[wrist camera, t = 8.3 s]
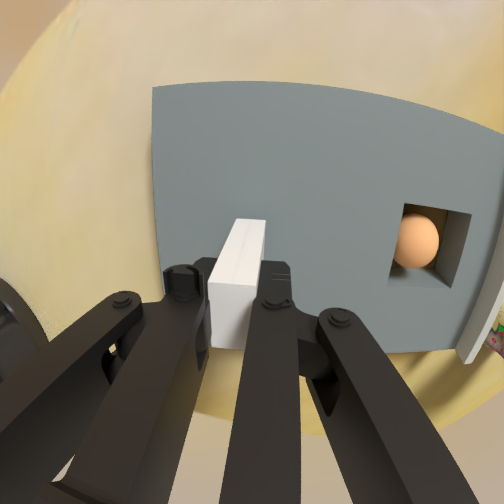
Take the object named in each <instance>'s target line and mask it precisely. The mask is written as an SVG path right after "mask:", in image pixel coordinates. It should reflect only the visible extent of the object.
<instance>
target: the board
mask: <svg viewBox="0 0 504 504" xmlns="http://www.w3.org/2000/svg"><path fill="white" fill-rule="evenodd" d="M152 168H153V190H154V206H155V220H156V231H157V242H158V252H159V261H160V269H161V277H162V285H163V292H164V296H165V288H164V280H163V271H164V270H165V269H166V268H169V267H171V266H174V265H179V264H190V265H193V264H194V262H195V261H197V260H198V259H200V258H202V257H212V258H219V256H220V253H221V251H222V249H223V247H224V245H225V242H226V240H227V238H228V236H229V234H230V232H231V229H232V227H233V225H234V223H235V221H236V219H255V220H266V224H265V243H264V260H269V261H285V262H286V263H287V264H288V266H289V267H290V272H291V287H292V300H293V301H294V303H295V307H296V308H298V309H299V310H300V311H302V312H304V313H307V314H310V315H313V316H317V317H318V316H319V314H320V312H322V311H323V310H325V309H328V308H332V307H335V308H344V309H348V310H350V311H352V312H354V313H355V314H356V315H357V316H358V317H359V318H360V319H361V321H362V322H363V323H364V325H365V326H366V327H367V329H368V330H369V332H370V333H371V334H372V336H373V337H374V338H375V340H376V341H377V343H378V344H379V345H380V347H381V348H382V350H383V351H384V353H407V352H423V351H436V350H447V349H455V350H456V352H457V354H458V355H459V357H460V359H461V361H462V362H463V364H469V363H472V362H473V360H474V359H475V357H476V355H477V353H478V352H479V350H480V348H481V346H482V344H483V342H484V341H485V339H486V337H487V335H488V333H489V331H490V329H491V327H492V325H493V323H494V321H495V319H496V316H497V314H498V312H499V310H500V308H501V305H502V303H503V301H504V135H503V134H501V133H499V132H496V131H494V130H492V129H489V128H487V127H485V126H482V125H480V124H477V123H475V122H472V121H469V120H467V119H464V118H461V117H458V116H455V115H453V114H450V113H447V112H443V111H440V110H437V109H434V108H431V107H427V106H424V105H420V104H416V103H413V102H409V101H405V100H401V99H397V98H392V97H388V96H383V95H378V94H373V93H368V92H363V91H357V90H351V89H344V88H337V87H330V86H321V85H312V84H301V83H287V82H267V81H221V82H200V83H187V84H176V85H167V86H158V87H153V90H152ZM404 203H408V204H415V205H422V206H428V207H434V208H440V209H446V210H448V215H447V220H446V224H445V229H444V233H443V237H442V241H441V245H440V249H439V253H438V257H437V260H436V264H435V267H434V269H423V268H417V269H410V268H406V267H391V265H392V261H393V257H394V253H395V248H396V244H397V239H398V234H399V229H400V224H401V219H402V213H403V208H404ZM209 345H211V338H210V341H209Z"/></svg>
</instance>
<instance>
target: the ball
mask: <svg viewBox="0 0 504 504" xmlns="http://www.w3.org/2000/svg"><path fill="white" fill-rule="evenodd" d="M438 245H439V237H438V232H437V230H436V227H435V226H434V224H433V223H432V222H431V221H430V220H429V219H428V218H427V217H425V216H423V215H421V214H418V213H408V214H404V215H402V219H401V224H400V229H399V234H398V239H397V244H396V248H395V253H394V257H393V259H394V260H395V261H396V262H397V263H398V264H400V265H401V266H403V267H406V268H410V269H417V268H421V267H423V266H425V265H427V264H428V263H430V262H431V261H432V259H433V258H434V257H435V255H436V253H437V250H438Z"/></svg>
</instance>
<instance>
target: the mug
mask: <svg viewBox="0 0 504 504" xmlns="http://www.w3.org/2000/svg"><path fill="white" fill-rule="evenodd" d="M483 343H484V345H485V346H486V347H488V348H490V349H493V350H495V351H496V352H498V353H499V354H500V355H501V356H502V357H503V358H504V301H503V303H502V305H501V308H500V310H499V312H498V314H497V316H496V319H495V321H494V323H493V325H492V327H491V329H490V331H489V333H488V335H487V337H486V339H485V341H484V342H483Z"/></svg>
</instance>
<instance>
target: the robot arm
mask: <svg viewBox="0 0 504 504" xmlns="http://www.w3.org/2000/svg"><path fill="white" fill-rule="evenodd" d="M265 224H266V220H255V219H236V221H235V223H234V225H233V227H232V229H231V232H230V234H229V236H228V238H227V240H226V242H225V245H224V247H223V249H222V251H221V253H220V256H219V258H212V257H202V258H200V259H198V260H197V261H195V262H194V264H193V265H190V264H179V265H174V266H171V267H169V268H166V269H165V270H164V271H163V280H164V288H165V296H164V297H163V299H162V300H161V301H160V302H151V303H142V301H141V297H140V296H139V294H137V293H135V292H131V291H119V292H117V293H113V294H112V295H110V296H108V297H107V298H105V299H104V300H103V301H101V302H100V303H99V304H97V305H96V306H95V307H93V308H92V309H91V310H90V311H88V312H87V313H86V314H84V315H83V316H82V317H80V318H79V319H78V320H77V321H75V322H74V323H73V324H72V325H70V326H69V327H68V328H66V329H65V330H64V331H63V332H61V333H60V334H59V335H58V336H56V337H55V338H54V339H53V340H51V341H50V342H49V343H48V341H47V338H46V336H45V334H44V332H43V330H42V328H41V326H40V324H39V323H38V321H37V319H36V318H35V316H34V314H33V313H32V311H31V310H30V309H29V307H28V306H27V304H26V303H25V302H24V301H23V299H22V298H21V297H20V296H19V295H18V293H17V292H16V291H15V290H14V289H13V288H12V287H11V286H10V285H9V284H8V283H6V282H5V281H4V280H2V279H1V278H0V504H168V501H169V497H170V493H171V490H172V486H173V482H174V478H175V475H176V471H177V468H178V464H179V460H180V457H181V453H182V449H183V445H184V442H185V438H186V435H187V431H188V428H189V424H190V421H191V417H192V414H193V410H194V407H195V403H196V400H197V396H198V393H199V389H200V386H201V382H202V379H203V375H204V372H205V368H206V365H207V361H208V358H209V349H208V345H209V341H210V338H211V346H212V347H216V348H226V349H236V350H245V353H244V359H243V365H242V371H241V377H240V383H239V389H238V395H237V401H236V407H235V413H234V419H233V425H232V431H231V437H230V443H229V448H228V454H227V460H226V465H225V471H224V477H223V483H222V488H221V494H220V499H219V504H301V422H300V387H299V375H300V376H304V377H305V378H306V383H307V386H308V388H309V391H310V393H311V396H312V398H313V401H314V404H315V406H316V409H317V411H318V414H319V417H320V419H321V422H322V424H323V427H324V429H325V432H326V435H327V437H328V440H329V442H330V445H331V447H332V450H333V453H334V455H335V458H336V460H337V463H338V466H339V468H340V471H341V474H342V476H343V479H344V481H345V484H346V486H347V489H348V492H349V494H350V497H351V500H352V502H353V504H479V502H478V500H477V499H476V497H475V495H474V493H473V491H472V490H471V488H470V486H469V484H468V482H467V480H466V479H465V477H464V475H463V473H462V472H461V470H460V468H459V467H458V465H457V463H456V461H455V460H454V458H453V457H452V455H451V453H450V451H449V450H448V448H447V447H446V445H445V443H444V442H443V440H442V438H441V437H440V435H439V434H438V432H437V430H436V429H435V427H434V426H433V424H432V422H431V421H430V419H429V418H428V416H427V415H426V413H425V412H424V410H423V408H422V407H421V405H420V404H419V402H418V401H417V399H416V398H415V396H414V395H413V393H412V392H411V390H410V389H409V387H408V386H407V384H406V383H405V381H404V380H403V378H402V377H401V376H400V374H399V373H398V371H397V370H396V368H395V367H394V365H393V364H392V363H391V361H390V360H389V358H388V357H387V355H386V354H385V353H384V351H383V350H382V348H381V347H380V345H379V344H378V343H377V341H376V340H375V338H374V337H373V336H372V334H371V333H370V332H369V330H368V329H367V327H366V326H365V325H364V323H363V322H362V321H361V319H360V318H359V317H358V316H357V315H356V314H355V313H354V312H352V311H350V310H348V309H344V308H335V307H332V308H328V309H325V310H323V311H322V312H320V314H319V316H318V317H317V316H313V315H310V314H307V313H304V312H302V311H300V310H299V309H298V308H296V307H295V303H294V301H293V300H292V287H291V272H290V267H289V266H288V264H287V263H286V262H285V261H269V260H264V243H265ZM113 344H115V347H116V350H115V351H114V352H112V353H110V351H109V348H110V347H111V346H112V345H113ZM75 453H76V454H75ZM74 455H75V456H74ZM73 456H74V458H73V460H72V462H71V464H70V466H69V468H68V470H67V472H66V474H65V476H64V477H63V478H62V479H61V480H60V481H56V482H51V481H52V480H53V479H54V478H55V477H56V476H57V474H58V473H59V472H60V471H61V470H62V469H63V467H64V466H65V465H66V464H67V463H68V461H69V460H70V459H71V458H72V457H73Z"/></svg>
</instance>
